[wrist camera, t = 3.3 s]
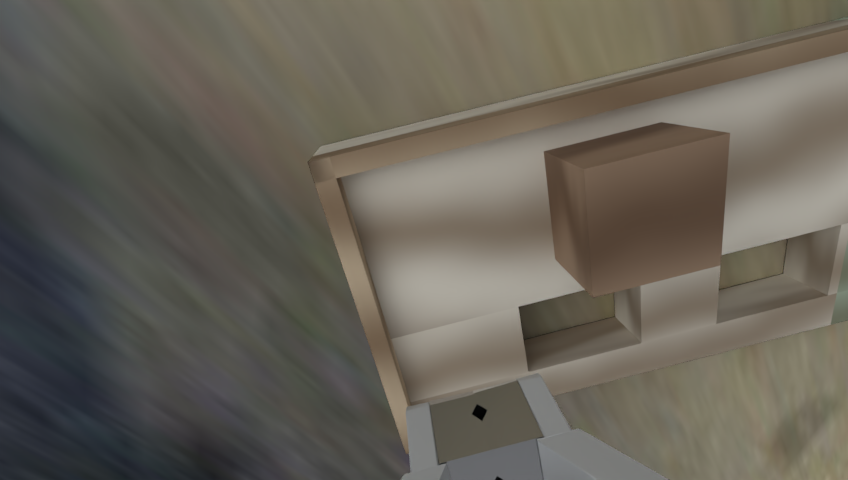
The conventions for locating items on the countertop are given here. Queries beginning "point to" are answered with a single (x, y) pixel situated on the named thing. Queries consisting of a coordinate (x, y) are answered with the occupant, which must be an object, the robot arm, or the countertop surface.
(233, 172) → the countertop surface
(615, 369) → the box
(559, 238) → the walnut block
